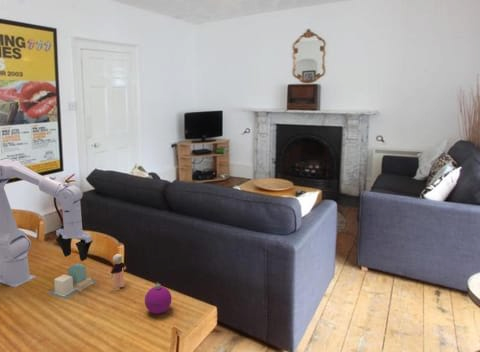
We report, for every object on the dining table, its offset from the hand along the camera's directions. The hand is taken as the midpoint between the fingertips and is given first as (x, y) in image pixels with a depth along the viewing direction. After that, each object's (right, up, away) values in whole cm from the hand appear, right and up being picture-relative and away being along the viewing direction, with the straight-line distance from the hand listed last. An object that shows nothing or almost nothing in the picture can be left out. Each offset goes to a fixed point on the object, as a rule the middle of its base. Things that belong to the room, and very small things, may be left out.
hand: (75, 257), depth 127 cm
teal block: (0, -8, +2) cm, 9 cm away
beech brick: (0, -10, +2) cm, 10 cm away
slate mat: (-1, -11, 0) cm, 11 cm away
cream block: (-3, -11, -3) cm, 12 cm away
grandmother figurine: (+15, -11, +1) cm, 19 cm away
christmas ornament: (+32, -14, -12) cm, 37 cm away
